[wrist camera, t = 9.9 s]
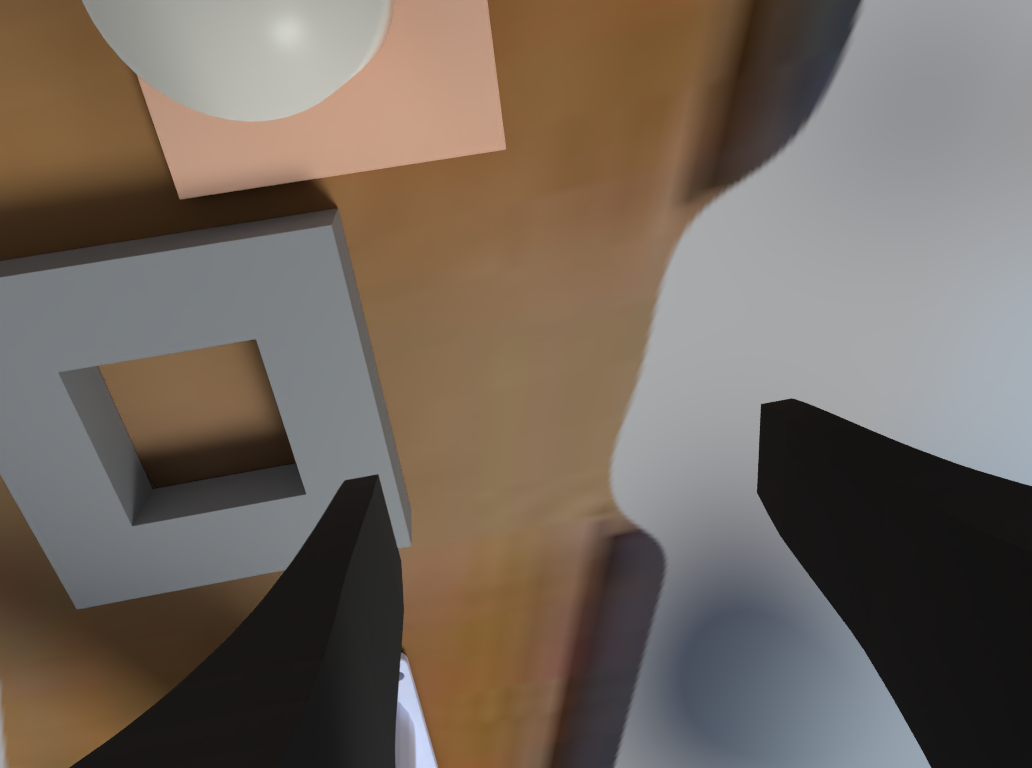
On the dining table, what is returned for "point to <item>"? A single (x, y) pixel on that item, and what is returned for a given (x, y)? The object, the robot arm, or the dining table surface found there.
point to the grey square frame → (170, 329)
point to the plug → (244, 49)
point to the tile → (355, 111)
